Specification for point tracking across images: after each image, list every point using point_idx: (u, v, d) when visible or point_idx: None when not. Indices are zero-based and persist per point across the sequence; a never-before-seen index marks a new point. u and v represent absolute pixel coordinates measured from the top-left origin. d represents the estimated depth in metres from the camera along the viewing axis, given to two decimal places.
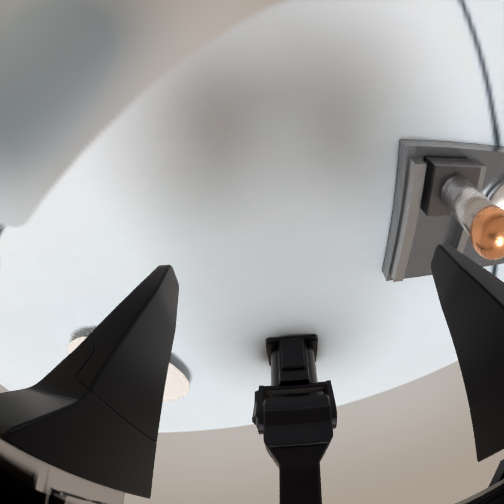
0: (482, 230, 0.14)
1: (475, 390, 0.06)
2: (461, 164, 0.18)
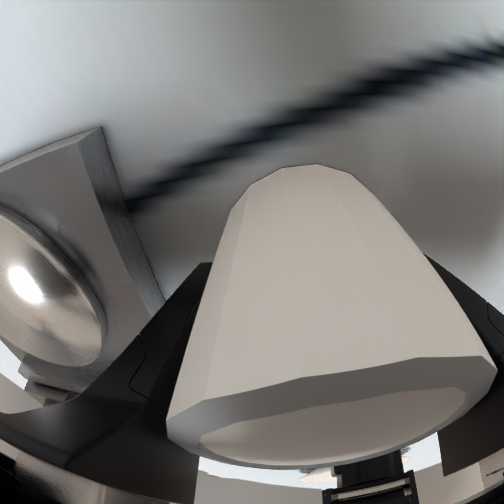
0: None
1: None
2: None
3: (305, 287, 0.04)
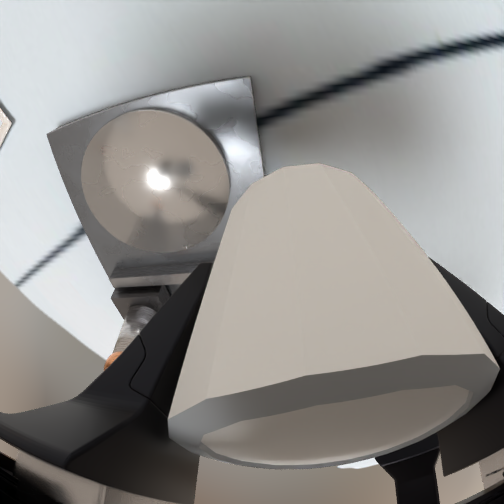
0: None
1: None
2: None
3: (308, 285, 0.04)
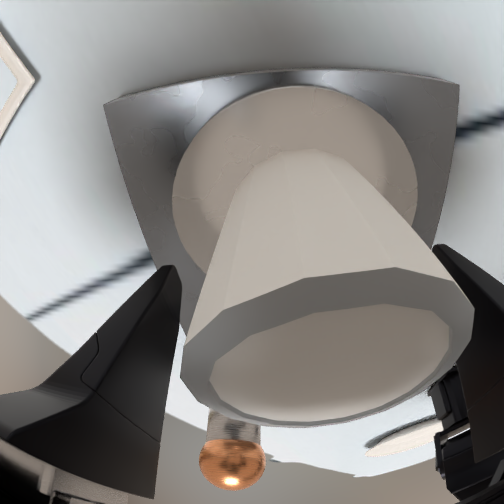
0: None
1: (472, 391, 0.06)
2: None
3: (304, 225, 0.05)
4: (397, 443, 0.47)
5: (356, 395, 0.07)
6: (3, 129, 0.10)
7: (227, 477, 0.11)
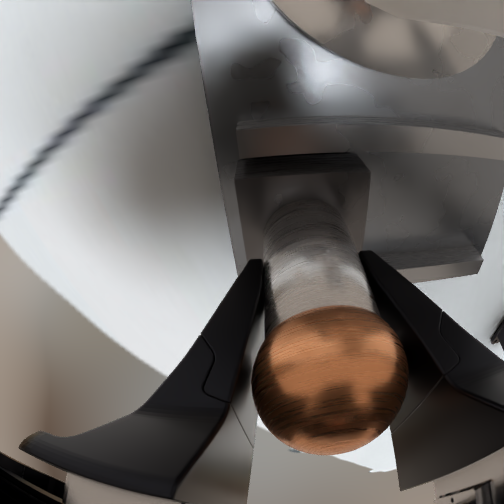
0: None
1: None
2: None
3: None
4: None
5: None
6: None
7: (349, 404, 0.04)
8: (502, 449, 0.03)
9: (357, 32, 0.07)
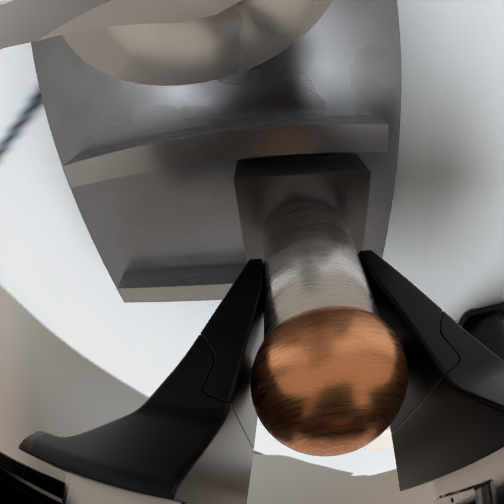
0: None
1: None
2: None
3: None
4: None
5: None
6: None
7: (348, 406, 0.04)
8: (502, 449, 0.03)
9: (140, 54, 0.07)
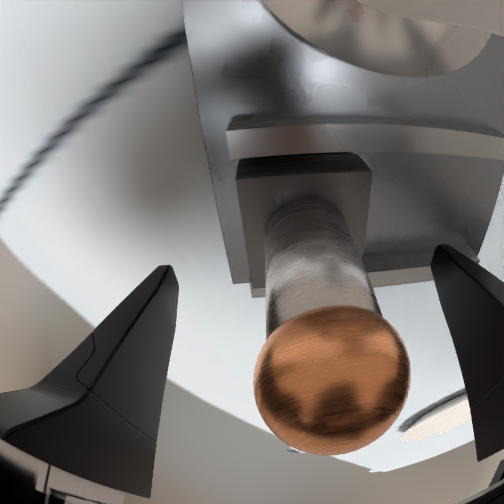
0: None
1: (475, 390, 0.06)
2: None
3: None
4: (431, 425, 0.40)
5: None
6: None
7: (351, 405, 0.04)
8: None
9: (348, 31, 0.07)
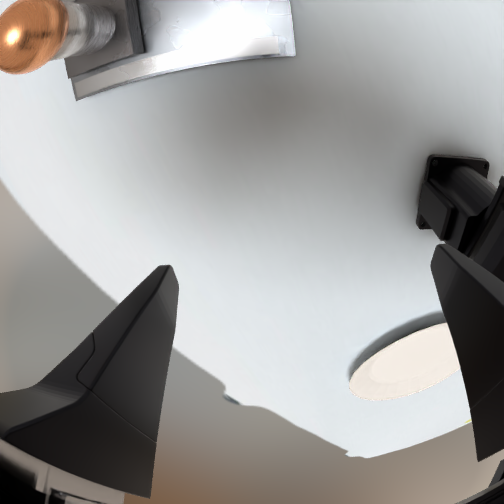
0: (17, 73, 0.07)
1: (475, 390, 0.06)
2: None
3: None
4: (394, 381, 0.40)
5: None
6: None
7: (7, 8, 0.04)
8: None
9: None
